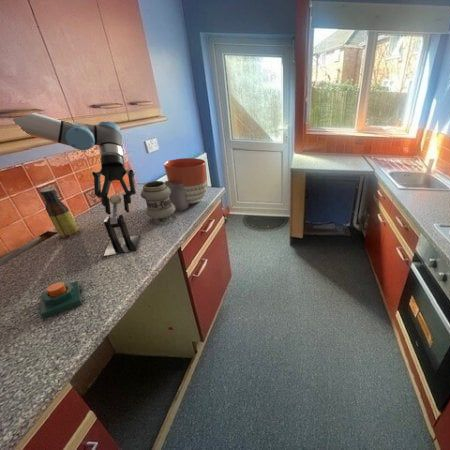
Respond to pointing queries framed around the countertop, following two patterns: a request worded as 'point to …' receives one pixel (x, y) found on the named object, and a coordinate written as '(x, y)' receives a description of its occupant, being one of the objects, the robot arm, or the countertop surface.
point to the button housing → (61, 300)
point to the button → (56, 289)
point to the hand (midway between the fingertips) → (117, 212)
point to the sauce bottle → (59, 214)
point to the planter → (188, 177)
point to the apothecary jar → (158, 201)
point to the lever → (114, 210)
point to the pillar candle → (177, 195)
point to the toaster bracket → (120, 244)
